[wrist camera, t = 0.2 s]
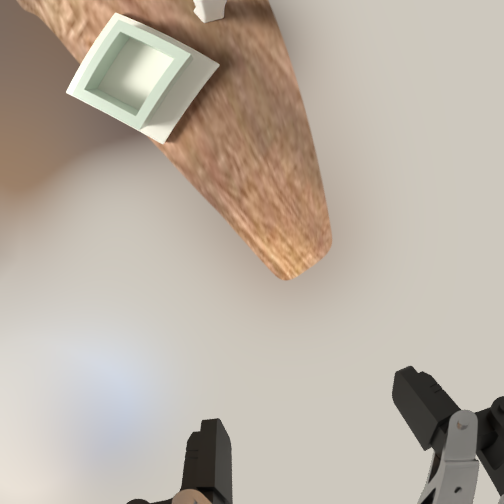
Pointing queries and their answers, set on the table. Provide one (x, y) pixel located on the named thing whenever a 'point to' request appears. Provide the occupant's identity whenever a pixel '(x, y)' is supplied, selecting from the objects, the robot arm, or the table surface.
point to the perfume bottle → (209, 9)
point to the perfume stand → (141, 76)
